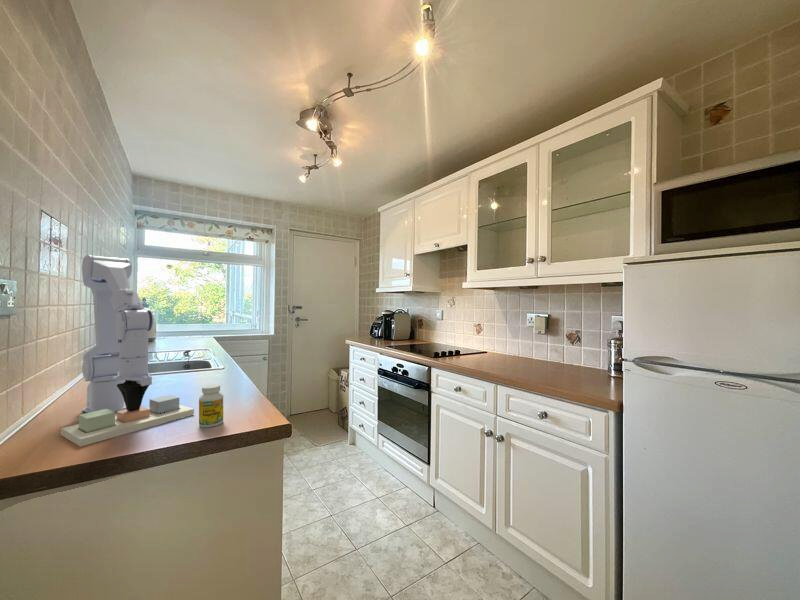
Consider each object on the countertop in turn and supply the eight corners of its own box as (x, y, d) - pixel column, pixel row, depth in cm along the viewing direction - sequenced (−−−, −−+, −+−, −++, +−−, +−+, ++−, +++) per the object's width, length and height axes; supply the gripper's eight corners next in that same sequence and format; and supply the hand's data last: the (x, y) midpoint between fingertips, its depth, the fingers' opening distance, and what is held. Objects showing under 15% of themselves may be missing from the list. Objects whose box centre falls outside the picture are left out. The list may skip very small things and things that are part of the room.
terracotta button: (116, 423, 81) (116, 411, 81) (140, 417, 85) (140, 405, 85) (125, 427, 78) (125, 414, 78) (149, 420, 83) (149, 409, 83)
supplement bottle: (222, 418, 86) (222, 382, 86) (224, 425, 81) (224, 386, 81) (198, 422, 83) (198, 385, 83) (199, 429, 78) (199, 390, 78)
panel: (61, 435, 75) (61, 428, 75) (171, 407, 95) (171, 402, 95) (80, 446, 69) (80, 439, 69) (193, 414, 89) (193, 408, 89)
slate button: (149, 410, 87) (149, 399, 87) (170, 405, 91) (170, 394, 91) (158, 413, 84) (158, 402, 84) (179, 408, 89) (179, 397, 89)
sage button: (78, 427, 75) (78, 414, 75) (106, 421, 79) (106, 408, 79) (86, 432, 72) (86, 418, 72) (114, 424, 77) (115, 412, 77)
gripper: (101, 356, 82) (101, 410, 82) (127, 361, 75) (126, 420, 75) (135, 352, 88) (135, 402, 88) (161, 357, 81) (161, 411, 81)
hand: (133, 410), depth 82 cm, fingers closed, pressing on terracotta button
